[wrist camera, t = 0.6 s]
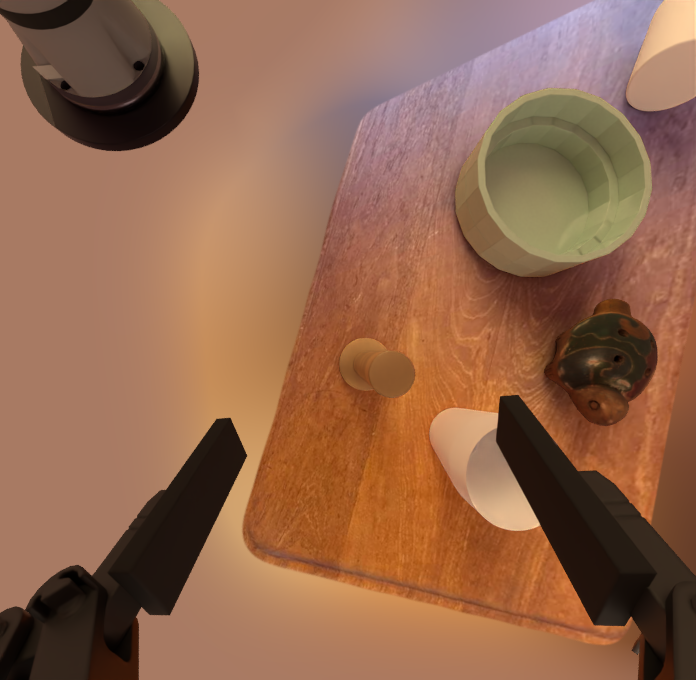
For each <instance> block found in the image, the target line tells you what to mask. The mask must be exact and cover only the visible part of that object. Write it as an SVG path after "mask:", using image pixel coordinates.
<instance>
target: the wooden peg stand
mask: <svg viewBox="0 0 696 680" xmlns="http://www.w3.org/2000/svg"><path fill="white" fill-rule="evenodd" d="M339 369H340V373H341V375H342V377H343V379H344V380H345V381H346V382H347V383H348V384H349V385H350V386H351V387H353V388H355V389H358V390H372V389H374V390H375V391H376V392H377V393H378V394H380V395H382V396H384V397H388V398H395V397H400V396H402V395H404V394H405V393H407V392H408V391H409V390H410V388H411V387H412V385H413V383H414V380H415V369H414V366H413V363H412V362H411V360H410V359H409V358H408V357H407V356H406V355H405V354H403V353H401V352H398V351H392V350H390V351H388V350H387V349H386V348H385V346H384V345H383V344H381V343H380V342H378V341H377V340H374V339H371V338H360V339H356V340H354V341H352V342H350V343H349V344H348V345H347V346H346V347H345V348H344V349H343V351H342V353H341V355H340V359H339Z"/></svg>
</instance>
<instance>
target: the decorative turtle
mask: <svg viewBox="0 0 696 680" xmlns="http://www.w3.org/2000/svg"><path fill="white" fill-rule="evenodd" d="M556 344H557V351H556V355H555V357H554V359H553V361H552V362H551V363H550V364H548V365H547V366H546V368H545V370H544V373H545V375H546V376H547V377H548V378H549V379H551V380H552V381H554V382H555V383H557V384H558V385H560V386H561V387H563V388H564V389H565V390H566V391H567V392H568V394H569V395H570V398H571V399H572V401H573V403H574V405H575V406H576V408H577V409H578V410H579V412H580V413H581V414H582V415H583V416H584V417H585V418H586V419H587V420H588V421H589V422H591V423H594V424H597V425H602V426H608V425H612V424H615V423H617V422H619V421H620V420H622V419H623V418H624V417H625V416H626V414H627V413H628V410H629V404H628V402H629V401H631V400H633V399H635V398H636V397H637V396H638V395H639V394H641V392H642V391H643V390H644V389H645V388H646V386H647V385H648V384H649V382H650V380H651V379H652V377H653V375H654V372H655V370H656V365H657V358H658V356H657V345H656V341H655V339H654V337H653V335H652V333H651V332H650V330H649V329H648V328H647V327H646V326H645V325H644V324H643V323H642V322H640V321H639V320H637V319H635V318H633V317H632V316H631V312H630V306H629V304H628V303H627V302H625V301H622V300H619V299H608V300H605V301H602V302H600V303H599V304H598V305H597V306H596V307H595V309H594V313H593V315H592V316H590V317H588V318H586V319H584V320H582V321H580V322H579V323H577V324H576V325H574V326H573V327H572V328H570V329H569V330H568V331H566V332H564V333H562V334H560V335H559V336H558V337H557V339H556Z"/></svg>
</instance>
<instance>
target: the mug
mask: <svg viewBox="0 0 696 680" xmlns="http://www.w3.org/2000/svg"><path fill="white" fill-rule="evenodd" d="M694 97H696V0H664V1H663V2H662V3H661V5H660V6H659V8H658V9H657V11H656V12H655V14H654V16H653V18H652V20H651V23H650V26H649V28H648V31H647V34H646V36H645V39H644V42H643V45H642V47H641V50H640V53H639V55H638V58H637V61H636V63H635V66H634V69H633V71H632V74H631V77H630V79H629V82H628V85H627V88H626V98H627V101H628V103H629V104H630V105H631V106H632V107H634V108H636V109H638V110H642V111H659V110H665V109H669V108H672V107H675V106H678V105H680V104H683V103H685V102H687V101H689V100H691V99H692V98H694Z"/></svg>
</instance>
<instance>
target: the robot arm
mask: <svg viewBox="0 0 696 680" xmlns="http://www.w3.org/2000/svg"><path fill="white" fill-rule="evenodd" d="M0 14H1V15H2V16H3V17H4V18H5V19H6V20H7V22H8V23H9V25H10V26H11V28H12V29H13V31H14V32H15V34H16V35H17V36H18V38H19V39H20V41H21V42H22V44H23V45H24V47H25V48H26V50H27V51H28V53H29V54H30V56H31V57H32V59H33V60H34V62H35V63H36V65H37V66H32V67H33V68H34V69H36V70H37V71H38V72H39V73H40V74H41V75H42V76H43V77H44V78H45V79H47V80H48V81H49V83H50V84H51V85H52V86H53V87H54V88H55V89H56V90H57V91H58V92H59V93H60V94H61V95H62V96H63V97H64V98H65V99H66V100H67V101H68V102H70V103H71V104H72V105H74V106H75V107H77V108H79V109H81V110H83V111H85V112H88V113H91V114H95V115H101V116H114V115H121V114H125V113H128V112H131V111H133V110H135V109H137V108H139V107H141V106H142V105H144V104H145V103H146V102H147V101H149V100H150V99H151V98H152V97H153V95H154V94H155V93H156V91H157V90H158V88H159V86H160V84H161V82H162V80H163V76H164V72H165V54H164V50H163V47H162V44H161V42H160V40H159V38H158V36H157V35H156V33H155V31H154V29H153V27H152V26H151V24H150V23H149V21H148V20H147V19H146V17H145V16H144V15H143V13H142V12H141V11H140V10H139V9H138V8H137V7H136V5H135V4H134V3H133V2H132V1H131V0H0ZM496 443H497V445H498V446H499V448H500V450H501V452H502V454H503V456H504V458H505V459H506V461H507V463H508V465H509V467H510V469H511V471H512V473H513V474H514V476H515V478H516V480H517V482H518V484H519V486H520V488H521V489H522V491H523V493H524V495H525V497H526V499H527V501H528V503H529V504H530V506H531V508H532V510H533V512H534V514H535V516H536V518H537V519H538V521H539V523H540V525H541V527H542V529H543V531H544V533H545V534H546V536H547V538H548V540H549V542H550V544H551V546H552V548H553V549H554V551H555V553H556V555H557V557H558V559H559V561H560V563H561V564H562V566H563V568H564V570H565V572H566V574H567V576H568V577H569V579H570V581H571V583H572V585H573V587H574V589H575V591H576V592H577V594H578V596H579V598H580V600H581V602H582V604H583V606H584V607H585V609H586V611H587V613H588V615H589V617H590V619H591V621H592V622H593V624H594V625H603V626H625V625H626V623H627V622H628V620H629V618H630V617H632V618H633V620H634V621H635V623H636V624H637V626H638V628H639V629H640V631H641V632H642V633H641V635H640V636H639V638H638V639H637V641H636V642H635V644H634V646H633V649H632V651H633V652H634V653H636V654H637V655H638V653H639V670H638V680H696V576H695V575H694V574H693V573H692V572H691V571H690V569H689V568H688V567H687V566H686V565H685V564H684V563H683V561H681V559H680V558H679V557H678V556H677V555H676V554H675V552H674V551H673V550H672V549H671V548H670V547H669V546H668V544H667V543H666V542H665V541H664V540H663V539H662V538H661V536H660V535H659V534H658V533H657V532H656V531H655V530H654V528H653V527H652V526H651V525H650V524H649V523H648V522H647V520H646V519H645V518H644V517H642V516H641V514H640V512H639V511H638V510H637V509H636V508H635V507H634V506H633V504H632V503H629V500H628V499H627V498H626V497H625V495H624V494H623V493H622V492H621V491H620V490H619V489H618V487H617V486H616V485H615V484H614V483H612V482H611V481H610V480H608V479H607V478H606V477H604V476H603V475H601V474H600V473H599V472H597V471H577V470H576V468H575V467H574V466H573V464H572V463H571V462H570V461H569V459H568V458H567V457H566V455H565V454H564V453H563V452H562V450H561V449H560V448H559V447H558V445H557V444H556V443H555V441H554V440H553V439H552V438H551V436H550V435H549V434H548V432H547V431H546V430H545V429H544V427H543V426H542V425H541V423H540V422H539V421H538V420H537V418H536V417H535V416H534V415H533V413H532V412H531V411H530V409H529V408H528V407H527V406H526V404H525V403H524V402H523V400H522V399H521V398H520V397H519V395H512V396H500V403H499V413H498V423H497V433H496ZM246 457H247V454H246V452H245V450H244V448H243V445H242V443H241V441H240V438H239V436H238V434H237V432H236V429H235V427H234V425H233V423H232V420H231V418H222V419H216V421H215V422H214V423H213V425H212V426H211V428H210V429H209V430H208V432H207V433H206V435H205V436H204V437H203V439H202V440H201V442H200V443H199V444H198V446H197V447H196V449H195V450H194V452H193V453H192V454H191V456H190V457H189V459H188V460H187V461H186V463H185V464H184V466H183V467H182V468H181V470H180V471H179V472H178V474H177V476H176V477H175V478H174V480H173V481H172V482H171V484H170V485H169V487H168V488H167V489H166V490H161V491H159V492H158V493H157V494H156V495H155V496H154V497H153V498H151V499H150V500H149V501H148V502H147V503H146V505H145V506H144V507H143V509H142V510H141V511H140V513H139V514H138V515H137V518H136V519H134V521H133V522H132V523H131V525H130V526H129V529H128V530H126V532H125V533H124V534H123V536H122V537H121V538H120V540H119V541H118V542H117V544H116V545H115V546H114V548H113V549H112V550H111V552H110V553H109V554H108V556H107V557H106V559H105V560H104V561H103V562H102V564H101V565H100V566H99V568H98V569H97V570H96V572H95V573H94V574H93V575H92V576H91V575H90V574H89V573H88V572H87V571H86V570H85V569H84V568H83V567H81V566H79V565H75V566H70V567H68V568H66V569H63V570H62V571H60V572H58V573H57V574H55V575H54V576H53V577H51V578H50V579H49V580H48V581H47V582H45V583H44V584H43V585H42V586H41V587H40V588H39V589H38V590H37V592H36V593H35V594H34V596H33V597H32V598H31V599H30V601H29V603H28V605H27V607H26V609H25V610H24V609H22V608H20V607H12V608H9V609H6V610H4V611H3V612H1V613H0V680H139V670H138V669H139V658H138V657H139V624H138V620H137V618H136V616H137V614H138V612H139V610H140V609H141V607H142V608H143V609H144V610H145V611H146V612H147V613H148V614H150V615H170V614H171V612H172V610H173V608H174V606H175V603H176V601H177V599H178V597H179V595H180V593H181V591H182V589H183V587H184V585H185V583H186V581H187V579H188V577H189V574H190V573H191V570H192V568H193V566H194V564H195V562H196V560H197V558H198V556H199V554H200V552H201V550H202V548H203V546H204V544H205V542H206V539H207V537H208V535H209V533H210V531H211V529H212V527H213V525H214V523H215V521H216V519H217V517H218V515H219V513H220V511H221V509H222V507H223V505H224V502H225V501H226V498H227V496H228V494H229V492H230V490H231V488H232V486H233V484H234V482H235V480H236V478H237V476H238V474H239V471H240V469H241V468H242V466H243V463H244V461H245V459H246Z"/></svg>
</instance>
